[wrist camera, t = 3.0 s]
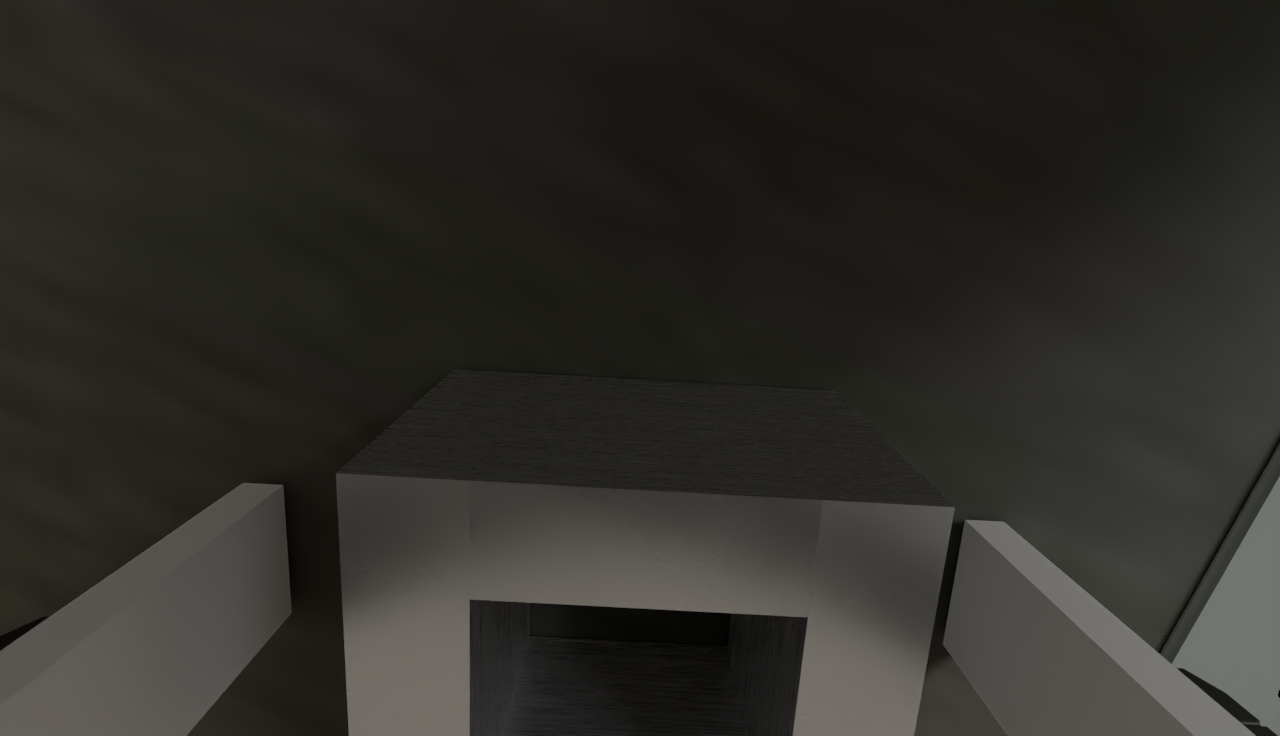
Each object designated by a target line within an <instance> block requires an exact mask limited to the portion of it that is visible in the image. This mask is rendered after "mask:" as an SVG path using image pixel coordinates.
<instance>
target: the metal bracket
mask: <svg viewBox="0 0 1280 736" xmlns="http://www.w3.org/2000/svg"><path fill="white" fill-rule="evenodd" d="M1160 655H1161V656H1163V657H1164V658H1165V659H1166V660H1167V661H1168V662H1170V663H1171V664H1172V665H1173V666H1174V667H1176V668H1183V669H1185V670H1187V671H1188V672H1190V673H1192V674H1194V675H1195V676H1197V677H1199V678H1201V679H1202V680H1204V681H1206V682H1208V683H1209V684H1211V685H1213V686H1215V687H1216V688H1218V689H1220V690H1222V691H1223V692H1225V693H1226V694H1228V695H1229V696H1230V697H1231V698H1232V699H1234V700H1235V701H1236V702H1237V703H1239V704H1240V705H1241V706H1242V707H1243V708H1245V709H1246V710H1247V711H1248V712H1250V713H1251V714H1252V715H1253V716H1254V717H1256V718H1257V719H1258V720H1259V721H1260V725H1261V726H1267V727H1268V728H1269V729H1270V730H1272V731H1273V732H1274V733H1275V734H1276V735H1278V736H1280V698H1279V697H1278V692H1279V690H1280V443H1279V445H1278V447H1277V448H1276V450H1275V452H1274V454H1273V455H1272V457H1271V459H1270V461H1269V463H1268V464H1267V466H1266V468H1265V470H1264V471H1263V473H1262V475H1261V477H1260V478H1259V480H1258V482H1257V484H1256V485H1255V487H1254V489H1253V491H1252V492H1251V494H1250V496H1249V498H1248V499H1247V501H1246V503H1245V505H1244V507H1243V508H1242V510H1241V512H1240V514H1239V515H1238V517H1237V519H1236V521H1235V522H1234V524H1233V526H1232V528H1231V529H1230V531H1229V533H1228V535H1227V536H1226V538H1225V540H1224V542H1223V543H1222V545H1221V547H1220V549H1219V551H1218V552H1217V554H1216V556H1215V558H1214V559H1213V561H1212V563H1211V565H1210V566H1209V568H1208V570H1207V572H1206V573H1205V575H1204V577H1203V579H1202V580H1201V582H1200V584H1199V586H1198V588H1197V589H1196V591H1195V593H1194V595H1193V596H1192V598H1191V600H1190V602H1189V603H1188V605H1187V607H1186V609H1185V610H1184V612H1183V614H1182V616H1181V617H1180V619H1179V621H1178V623H1177V624H1176V626H1175V628H1174V630H1173V632H1172V633H1171V635H1170V637H1169V639H1168V640H1167V642H1166V644H1165V646H1164V647H1163V649H1162V651H1161V653H1160Z"/></svg>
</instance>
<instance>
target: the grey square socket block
mask: <svg viewBox="0 0 1280 736" xmlns="http://www.w3.org/2000/svg"><path fill="white" fill-rule="evenodd" d="M336 487H337V507H338V527H339V548H340V568H341V588H342V608H343V628H344V648H345V668H346V688H347V708H348V729H349V736H914V733H915V727H916V722H917V716H918V710H919V705H920V699H921V694H922V688H923V683H924V677H925V671H926V666H927V660H928V655H929V649H930V644H931V638H932V632H933V627H934V621H935V616H936V610H937V604H938V599H939V593H940V588H941V582H942V577H943V571H944V565H945V560H946V554H947V549H948V543H949V538H950V532H951V526H952V521H953V515H954V510H955V507H954V506H953V505H952V504H951V503H950V502H949V501H948V500H947V499H946V498H945V497H944V496H943V495H942V494H941V493H940V492H939V491H938V490H936V489H935V488H934V487H933V486H932V485H931V484H930V483H929V482H928V481H927V480H926V479H925V478H924V477H923V476H922V475H921V474H920V473H919V472H918V471H917V470H916V469H915V468H914V467H913V466H912V465H911V464H910V463H909V462H908V461H907V460H905V459H904V458H903V457H902V456H901V455H900V454H899V453H898V452H897V451H896V450H895V449H894V448H893V447H892V446H891V445H890V444H889V443H888V442H887V441H886V440H885V439H884V438H883V437H882V436H881V435H880V434H879V433H878V432H877V431H876V430H874V429H873V428H872V427H871V426H870V425H869V424H868V423H867V422H866V421H865V420H864V419H863V418H862V417H861V416H860V415H859V414H858V413H857V412H856V411H855V410H854V409H853V408H852V407H851V406H850V405H849V404H848V403H847V402H846V401H844V400H843V399H842V398H841V397H840V396H839V395H838V394H837V393H836V392H835V391H834V390H819V389H801V388H784V387H766V386H748V385H731V384H713V383H695V382H678V381H660V380H642V379H625V378H607V377H590V376H572V375H554V374H537V373H519V372H501V371H484V370H466V369H454V370H453V371H452V372H451V373H450V374H448V375H447V376H446V377H445V378H444V379H443V380H442V381H440V382H439V383H438V384H437V385H436V386H435V387H434V388H432V389H431V390H430V391H429V392H428V393H427V394H426V395H424V396H423V397H422V398H421V399H420V400H419V401H418V402H416V403H415V404H414V405H413V406H412V407H411V408H410V409H409V410H407V411H406V412H405V413H404V414H403V415H402V416H401V417H399V418H398V419H397V420H396V421H395V422H394V423H393V424H391V425H390V426H389V427H388V428H387V429H386V430H385V431H383V432H382V433H381V434H380V435H379V436H378V437H377V438H375V439H374V440H373V441H372V442H371V443H370V444H369V445H368V446H366V447H365V448H364V449H363V450H362V451H361V452H360V453H358V454H357V455H356V456H355V457H354V458H353V459H352V460H350V461H349V462H348V463H347V464H346V465H345V466H344V467H342V468H341V469H340V470H339V471H338V472H337V473H336ZM531 603H545V604H564V605H583V606H602V607H621V608H640V609H658V610H677V611H696V612H715V613H730V622H729V632H728V642H727V647H725V646H706V645H687V644H668V643H649V642H630V641H611V640H592V639H573V638H554V637H535V636H530V632H531Z"/></svg>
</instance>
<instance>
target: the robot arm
mask: <svg viewBox="0 0 1280 736" xmlns="http://www.w3.org/2000/svg"><path fill="white" fill-rule="evenodd" d="M291 613H292V610H291V595H290V580H289V564H288V549H287V534H286V518H285V503H284V488H283V485H276V484H257V483H242V484H241V485H239V486H238V487H236V488H235V489H233V490H232V491H230V492H229V493H228V494H226V495H225V496H223V497H222V498H220V499H219V500H217V501H216V502H215V503H213V504H212V505H210V506H209V507H207V508H206V509H204V510H203V511H202V512H200V513H199V514H197V515H196V516H194V517H193V518H191V519H190V520H189V521H187V522H186V523H184V524H183V525H181V526H180V527H178V528H177V529H176V530H174V531H173V532H171V533H170V534H168V535H167V536H165V537H164V538H163V539H161V540H160V541H158V542H157V543H155V544H154V545H152V546H151V547H150V548H148V549H147V550H145V551H144V552H142V553H141V554H139V555H138V556H137V557H135V558H134V559H132V560H131V561H129V562H128V563H126V564H125V565H124V566H122V567H121V568H119V569H118V570H116V571H115V572H113V573H112V574H111V575H109V576H108V577H106V578H105V579H103V580H102V581H100V582H99V583H98V584H96V585H95V586H93V587H92V588H90V589H89V590H87V591H86V592H85V593H83V594H82V595H80V596H79V597H77V598H76V599H74V600H73V601H72V602H70V603H69V604H67V605H66V606H64V607H63V608H62V609H60V610H59V611H57V612H56V613H54V614H53V615H51V616H50V617H42V618H40V619H38V620H35V621H33V622H31V623H29V624H26V625H24V626H22V627H20V628H18V629H15V630H13V631H11V632H9V633H6V634H4V635H2V636H0V736H187V735H188V733H189V732H190V731H191V730H192V729H193V728H194V726H195V725H196V724H197V723H198V722H199V721H200V719H201V718H202V717H203V716H204V715H205V714H206V712H207V711H208V710H209V709H210V708H211V707H212V705H213V704H214V703H215V702H216V701H217V700H218V698H219V697H220V696H221V695H222V694H223V693H224V691H225V690H226V689H227V688H228V687H229V686H230V684H231V683H232V682H233V681H234V680H235V679H236V677H237V676H238V675H239V674H240V673H241V672H242V670H243V669H244V668H245V667H246V666H247V665H248V663H249V662H250V661H251V660H252V659H253V658H254V656H255V655H256V654H257V653H258V652H259V651H260V649H261V648H262V647H263V646H264V645H265V644H266V642H267V641H268V640H269V639H270V638H271V637H272V635H273V634H274V633H275V632H276V631H277V630H278V628H279V627H280V626H281V625H282V624H283V623H284V621H285V620H286V619H287V618H288V617H289V616H290V614H291ZM943 645H944V647H945V648H946V650H947V651H948V652H949V654H950V655H951V657H952V658H953V659H954V661H955V662H956V664H957V665H958V667H959V668H960V669H961V671H962V672H963V674H964V675H965V676H966V678H967V679H968V681H969V682H970V684H971V685H972V686H973V688H974V689H975V691H976V692H977V693H978V695H979V696H980V698H981V699H982V701H983V702H984V703H985V705H986V706H987V708H988V709H989V710H990V712H991V713H992V715H993V716H994V718H995V719H996V720H997V722H998V723H999V725H1000V726H1001V727H1002V729H1003V730H1004V732H1005V733H1006V735H1007V736H1278V735H1276V734H1275V733H1274V732H1273V731H1272V730H1270V729H1269V728H1268V727H1267V726H1261V725H1260V721H1259V720H1258V719H1257V718H1256V717H1254V716H1253V715H1252V714H1251V713H1250V712H1248V711H1247V710H1246V709H1245V708H1243V707H1242V706H1241V705H1240V704H1239V703H1237V702H1236V701H1235V700H1234V699H1232V698H1231V697H1230V696H1229V695H1228V694H1226V693H1225V692H1223V691H1222V690H1220V689H1218V688H1216V687H1215V686H1213V685H1211V684H1209V683H1208V682H1206V681H1204V680H1202V679H1201V678H1199V677H1197V676H1195V675H1194V674H1192V673H1190V672H1188V671H1187V670H1185V669H1183V668H1176V667H1174V666H1173V665H1172V664H1171V663H1170V662H1168V661H1167V660H1166V659H1165V658H1164V657H1163V656H1161V655H1160V654H1159V653H1158V652H1157V651H1156V650H1154V649H1153V648H1152V647H1151V646H1150V645H1148V644H1147V643H1146V642H1145V641H1144V640H1143V639H1141V638H1140V637H1139V636H1138V635H1137V634H1135V633H1134V632H1133V631H1132V630H1131V629H1130V628H1128V627H1127V626H1126V625H1125V624H1124V623H1123V622H1121V621H1120V620H1119V619H1118V618H1117V617H1115V616H1114V615H1113V614H1112V613H1111V612H1110V611H1108V610H1107V609H1106V608H1105V607H1104V606H1102V605H1101V604H1100V603H1099V602H1098V601H1097V600H1095V599H1094V598H1093V597H1092V596H1091V595H1090V594H1088V593H1087V592H1086V591H1085V590H1084V589H1082V588H1081V587H1080V586H1079V585H1078V584H1077V583H1075V582H1074V581H1073V580H1072V579H1071V578H1069V577H1068V576H1067V575H1066V574H1065V573H1064V572H1062V571H1061V570H1060V569H1059V568H1058V567H1057V566H1055V565H1054V564H1053V563H1052V562H1051V561H1049V560H1048V559H1047V558H1046V557H1045V556H1044V555H1042V554H1041V553H1040V552H1039V551H1038V550H1036V549H1035V548H1034V547H1033V546H1032V545H1031V544H1029V543H1028V542H1027V541H1026V540H1025V539H1024V538H1022V537H1021V536H1020V535H1019V534H1018V533H1016V532H1015V531H1014V530H1013V529H1012V528H1011V527H1009V526H1008V525H1007V524H1006V523H1005V522H999V521H980V520H965V522H964V528H963V533H962V539H961V545H960V550H959V556H958V561H957V567H956V573H955V578H954V584H953V589H952V595H951V601H950V606H949V612H948V618H947V623H946V629H945V634H944V640H943Z"/></svg>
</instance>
